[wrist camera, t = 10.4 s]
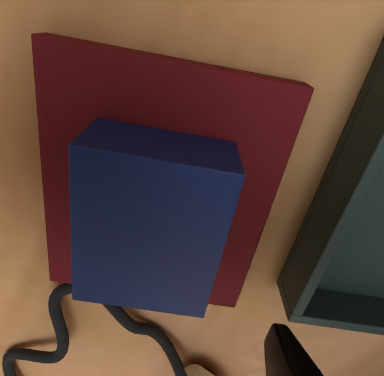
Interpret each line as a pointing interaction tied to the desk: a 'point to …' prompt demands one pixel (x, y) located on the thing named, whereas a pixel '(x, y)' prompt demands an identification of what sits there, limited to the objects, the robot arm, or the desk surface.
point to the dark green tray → (345, 228)
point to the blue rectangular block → (150, 215)
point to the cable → (189, 375)
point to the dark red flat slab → (169, 120)
